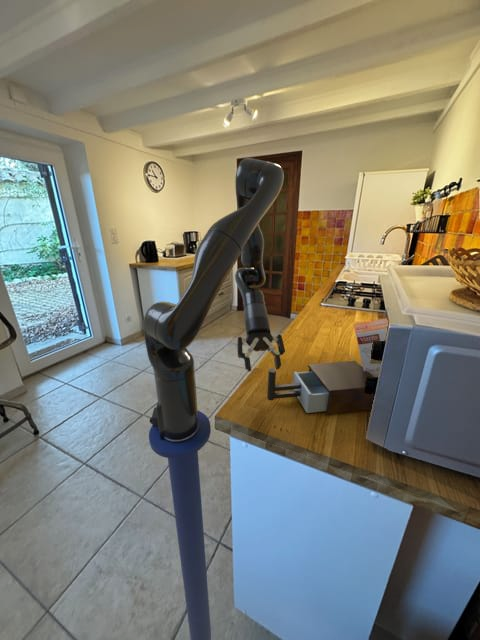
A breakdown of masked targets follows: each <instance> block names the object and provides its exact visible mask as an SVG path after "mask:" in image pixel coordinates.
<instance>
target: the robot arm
mask: <svg viewBox="0 0 480 640" xmlns="http://www.w3.org/2000/svg"><path fill="white" fill-rule="evenodd" d="M284 173H285V172H284V169H283V168H282V167H281V166H280V165H279V164H277V163H274V162H271V161H265V160H261V159H257V158H253V157H246V158H243V160H241V161H240V162H239V164H238V167H237V169H236V172H235V179H234V186H235V187H234V189H235V197H236V198H235V199H236V206H237V209H236V210H234V211H232V212H230V213H228V214H226V215H225V216H223V217H221V218H219V219H218V220H217V221H215V222H213V224H212V225H211V226H209V228H208V229H207V231H206V232H205V234H204V236H203V238H201V241H200V242H199V244H198V246H197V248H196V250H195V253H194V259H193V267H192V275H191V280H190V282H189V285H188V287H187V289H186V290H185V291H184V293H183V294H182V296H181V297H180V299H179V300H178V302H177V303H173V302H169V301H158V302H155V303H153V304H152V305H151V306H149V307H148V309H146V312H145V313H144V316H143V320H142V321H143V322H142V329H143V330H142V331H143V337H144V342H145V348H146V353H147V359H148V361H149V363H150V365H151V368H152V370H153V376H154V384H155V391H156V393H155V394H156V399H157V401H156V406H155V407H154V408H153V410H152V415H151V417H150V418H149V423H150V424H151V426H152V425H153V427H159V433H160V440H166V441H168V442H172V443H180V442H184V441H187V440H189V439H191V438H192V437H193V436H195V434H196V433H197V431H198V429H199V422H198V411H199V410H198V398H197V386H196V385H197V384H196V371H195V370H196V369H195V368H196V367H195V360H194V357H193V355H192V354H191V352H190V351H189V350H188V347H189V346H190V345H191V344H192V343H193V342H194V341H195V339H196V338H197V336H198V334H199V333H200V331H201V329H202V327H203V324H204V322H205V321H206V318H207V316H208V314H209V311H210V309H211V307H212V305H213V303H214V300H215V299H216V297H217V295H218V293H219V291H220V289H221V288H222V286H223V285H224V282H225V281H226V279H227V277H228V275H229V274H230V272H231V270H232V269H233V267H234V266H235V265H236V262H237V261H238V259H239V258H240V263H242V265H243V266H244V267H239V268H238V269H237V270H236V271H235V274H234V280H235V283H236V286H237V288H238V290H239V292H240V294H241V297H242V302H243V303H242V304H243V311H244V313H243V315H244V316H243V317H244V319H243V321H244V325H245V333H246V337H241V336H238V337H237V340H236V349H237V358H239V359H242V360H243V361H244V369H245V370H246V371H247V372H249V373H250V372H251V371H252V365H251V357H250V356H251V355H252V352H253V351H254V352H266V351H267V352H268V353H270V354H271V355H272V356H273V361H274V365H275V366H274V367H275V368H274V369H275V370H279V369H280V368H281V366H282V362H281V356H283V355H284V354H285V353H286V348H285V344H284V340H283V337H282V334H279V333H278V334H277V335H272V334H271V326H270V320H269V315H268V310H267V307H266V302H265V295H264V292H263V291H262V290H261V289H258V288H261V287H263V286H264V284H265V283H266V279H267V278H266V272H265V267H264V260H263V259H264V249H265V239H264V235H263V231H262V229H261V227H260V225H259V224H260V222H261V221H262V220H263V218H264V217H265V215H266V214H267V213H268V212H269V210H270V209H271V207H272V206H273V204H274V203H275V201H276V200H277V198H278V196H279V195H280V192H281V190H282V188H283V185H284V179H285V174H284ZM273 341H274V343H275V344H276V345H277V348H276V347H275V345H274V344H273V343H272V342H273ZM245 343H246V344H247V345H248V346H249V347H248V349H247V351H246V352H243V346H244V345H245ZM197 410H198V411H197Z"/></svg>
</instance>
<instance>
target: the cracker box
mask: <svg viewBox="0 0 480 640" xmlns="http://www.w3.org/2000/svg"><path fill="white" fill-rule="evenodd" d="M387 318H388V317H385V318H380V319H374V320H369V321H361V322H357V323H353V328H354V333H355V337H356V342H357V346H358V352H359V357H360V361H361V366H362V367H363V370H364V371H368V372H369V373H370V374H372V375H373V376H374V377H378V374H379V370H380V366H381V361H377V360H373V359H371V350H372V344H373V341H374V340H380V341H384V340H385V338H386V333H387V326H388V320H387Z"/></svg>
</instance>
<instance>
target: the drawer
mask: <svg viewBox="0 0 480 640" xmlns="http://www.w3.org/2000/svg"><path fill="white" fill-rule="evenodd" d="M267 373H268V374H267V375H268V376H267V394H266V395H267V396H266V398H267V400H268V401H272V402H273V401H274V400H276V399H286V398H296V397H297V399H298V401H299V403H300V404H301V406H302V408H303V410H304V411H305V413H306V414H309V413H312V414H313V413H320V412H326V410H327V403H328V396H329V392H328V391H327V390H326V389H325V387H324V386H323V385H322V384H321V382H320V381H319V380H318V379H317V377H316V376H315V375H314V374H313V372H312V371H310V372H309V371H299V372H297V371H293V375H292V383H283V384H276V379H277V377H276V376H277V369H276V368H269V369H268V371H267Z"/></svg>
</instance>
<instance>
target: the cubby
mask: <svg viewBox="0 0 480 640" xmlns="http://www.w3.org/2000/svg"><path fill="white" fill-rule="evenodd" d="M307 368H308V372H310V371H312V372H313V374H314V375H315V376H316V377H317V379H318V380H319V381H320V382H321V384H322V385H323V386H324V387H325V389H326V390H327V391H328V392H329V396H328V403H327V410H326V411H325V414H326V415H337V414H338V415H339V414H345V413H355V412H365V411H372V410H371V409H372V404H373V400H374V395H368V394H365V393H364V386H365V379H366V376H372V377H374V376H373V375H372V374H370V373H369V372H368V371H364V370H363V366H362V364H360V363H359V362H358V361H356V360H347V361H334V362H321V363H310V364H307Z"/></svg>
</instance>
